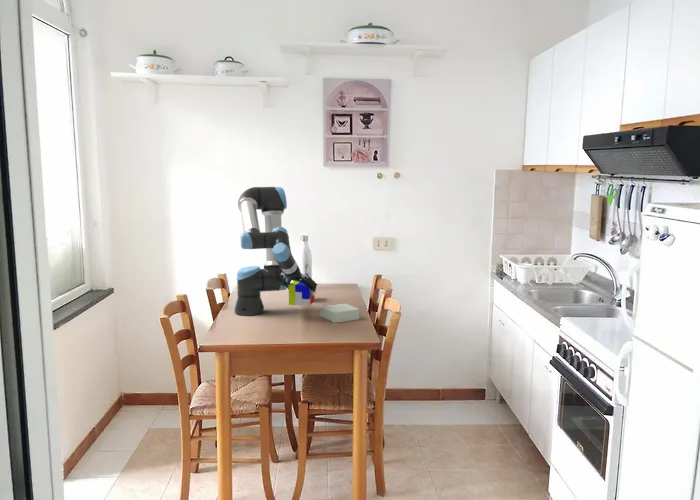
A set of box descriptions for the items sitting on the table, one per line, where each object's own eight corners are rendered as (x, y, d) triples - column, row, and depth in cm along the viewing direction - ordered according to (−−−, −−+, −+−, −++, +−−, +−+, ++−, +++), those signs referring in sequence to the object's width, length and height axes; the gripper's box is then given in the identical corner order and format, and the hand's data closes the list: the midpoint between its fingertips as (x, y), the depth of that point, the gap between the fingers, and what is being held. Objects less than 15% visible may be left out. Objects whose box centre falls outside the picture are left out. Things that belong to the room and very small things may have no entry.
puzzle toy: (308, 306, 266) (308, 285, 265) (288, 304, 268) (288, 284, 267) (314, 301, 276) (314, 281, 274) (295, 299, 278) (295, 280, 277)
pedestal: (320, 316, 275) (320, 306, 275) (345, 312, 282) (345, 303, 282) (334, 322, 263) (334, 312, 263) (359, 319, 270) (359, 309, 270)
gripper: (265, 273, 259) (281, 297, 276) (310, 276, 251) (323, 301, 268) (270, 260, 263) (285, 285, 280) (315, 263, 255) (327, 289, 272)
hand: (304, 293), depth 274 cm, fingers closed on puzzle toy, 11 cm apart
